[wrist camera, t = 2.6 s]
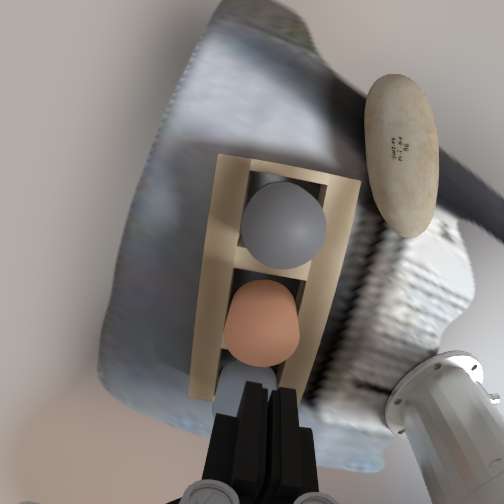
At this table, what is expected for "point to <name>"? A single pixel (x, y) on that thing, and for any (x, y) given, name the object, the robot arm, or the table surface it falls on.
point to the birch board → (266, 270)
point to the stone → (402, 153)
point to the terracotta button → (262, 324)
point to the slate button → (239, 385)
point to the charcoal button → (283, 225)
